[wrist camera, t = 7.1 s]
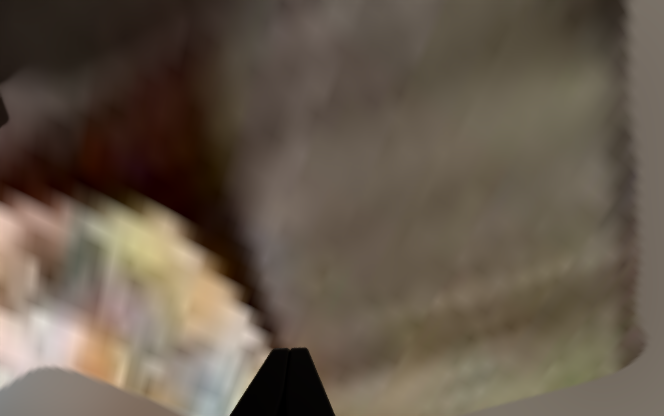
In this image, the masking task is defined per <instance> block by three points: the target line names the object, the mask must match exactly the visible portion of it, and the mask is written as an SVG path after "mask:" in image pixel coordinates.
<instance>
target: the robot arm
mask: <svg viewBox="0 0 664 416" xmlns="http://www.w3.org/2000/svg"><path fill="white" fill-rule="evenodd" d="M230 416H335V414H334V412H333V409H332V407H331V404H330V402H329V399H328V397H327V394H326V392H325V390H324V387H323V385H322V382H321V380H320V377H319V375H318V373H317V370H316V368H315V365H314V363H313V360H312V358H311V355H310V353H309V351H308V349H307V348H305V347H304V348H292V349H291V350H290V349H288V348H275V349H273V350H272V351H271V352H270V354H269V355H268V357H267V359H266V360H265V362H264V363H263V365H262V366H261V368H260V369H259V371H258V372H257V374H256V376H255V377H254V379H253V380H252V382H251V383H250V385H249V386H248V388H247V389H246V391H245V393H244V394H243V396H242V397H241V399H240V400H239V402H238V403H237V405H236V406H235V408H234V410H233V411H232V413H231V414H230Z"/></svg>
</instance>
